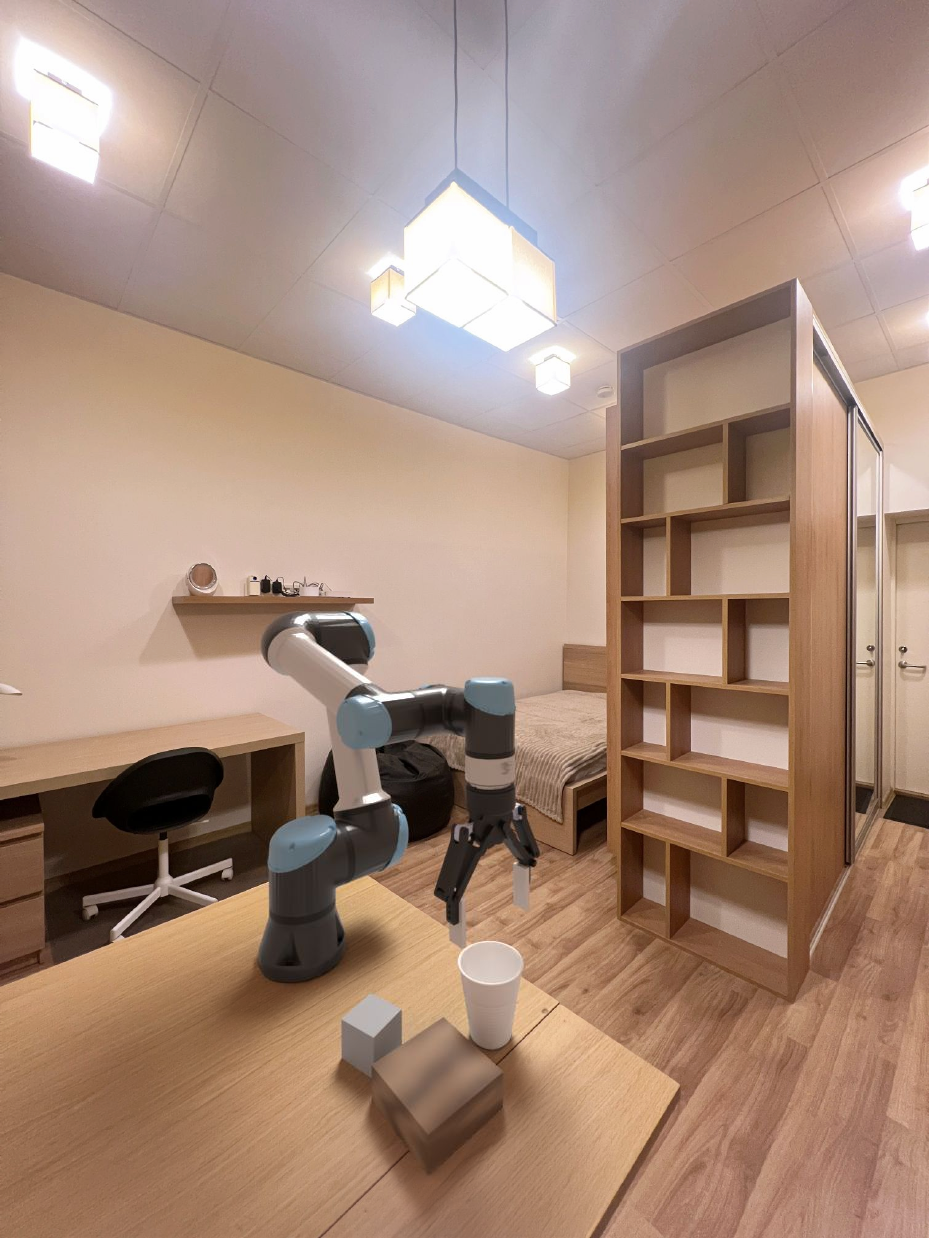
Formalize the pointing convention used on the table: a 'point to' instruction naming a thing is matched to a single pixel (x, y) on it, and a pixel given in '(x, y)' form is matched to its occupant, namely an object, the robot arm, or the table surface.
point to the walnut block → (436, 1092)
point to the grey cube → (370, 1032)
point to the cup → (490, 990)
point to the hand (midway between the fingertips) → (491, 924)
